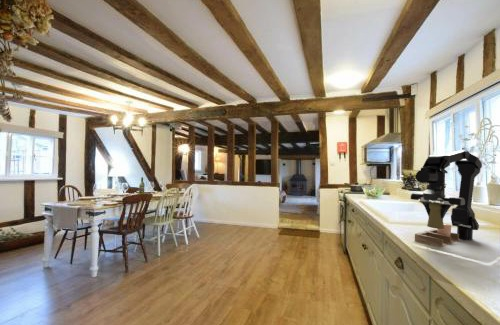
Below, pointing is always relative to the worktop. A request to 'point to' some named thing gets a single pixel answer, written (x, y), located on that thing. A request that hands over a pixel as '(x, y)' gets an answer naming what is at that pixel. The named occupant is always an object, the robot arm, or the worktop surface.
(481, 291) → the worktop surface
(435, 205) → the cork
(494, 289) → the worktop surface
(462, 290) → the worktop surface
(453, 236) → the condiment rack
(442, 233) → the block
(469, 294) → the worktop surface
